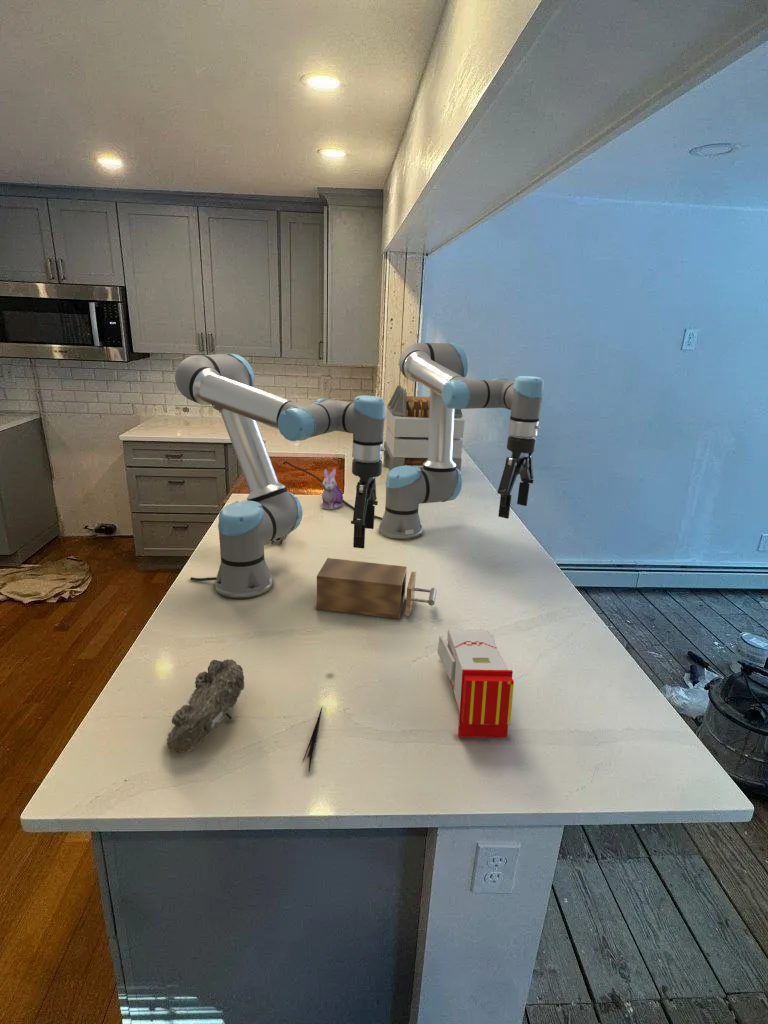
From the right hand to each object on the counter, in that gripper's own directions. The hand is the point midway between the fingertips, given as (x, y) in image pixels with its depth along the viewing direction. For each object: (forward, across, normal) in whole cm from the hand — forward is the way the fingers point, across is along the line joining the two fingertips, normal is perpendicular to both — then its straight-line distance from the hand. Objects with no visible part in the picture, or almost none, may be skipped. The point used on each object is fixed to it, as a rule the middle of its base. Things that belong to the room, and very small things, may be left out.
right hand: (512, 510), depth 158 cm
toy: (+23, -51, -14) cm, 58 cm away
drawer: (+22, -32, +20) cm, 44 cm away
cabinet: (+23, -35, +26) cm, 49 cm away
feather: (+23, -77, +6) cm, 80 cm away
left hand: (+5, -32, +28) cm, 43 cm away
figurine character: (+23, -16, +74) cm, 79 cm away
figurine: (+23, +21, +81) cm, 87 cm away
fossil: (+23, -88, +22) cm, 94 cm away
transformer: (+23, +86, +80) cm, 119 cm away
